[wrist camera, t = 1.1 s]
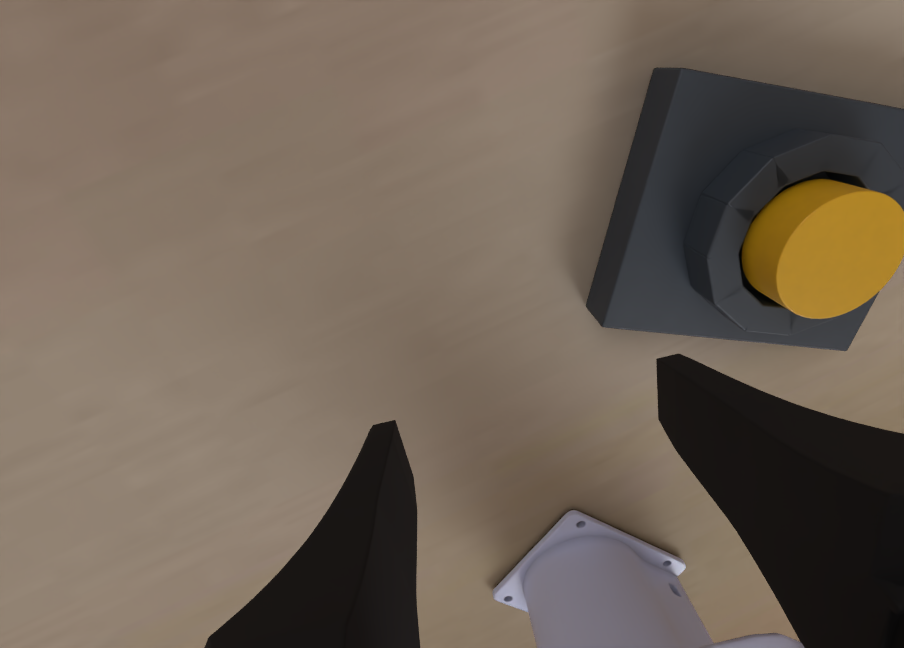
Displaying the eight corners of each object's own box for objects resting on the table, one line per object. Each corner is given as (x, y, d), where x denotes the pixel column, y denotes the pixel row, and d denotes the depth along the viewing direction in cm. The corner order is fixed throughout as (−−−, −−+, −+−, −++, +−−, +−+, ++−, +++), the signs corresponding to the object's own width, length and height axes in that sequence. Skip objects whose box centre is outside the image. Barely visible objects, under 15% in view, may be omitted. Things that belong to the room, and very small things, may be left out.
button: (883, 187, 19) (935, 200, 17) (825, 302, 21) (867, 325, 19) (771, 170, 18) (813, 181, 16) (722, 290, 20) (755, 312, 18)
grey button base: (920, 116, 22) (1024, 126, 18) (813, 330, 26) (879, 372, 22) (653, 67, 20) (710, 67, 16) (584, 306, 24) (618, 348, 20)
